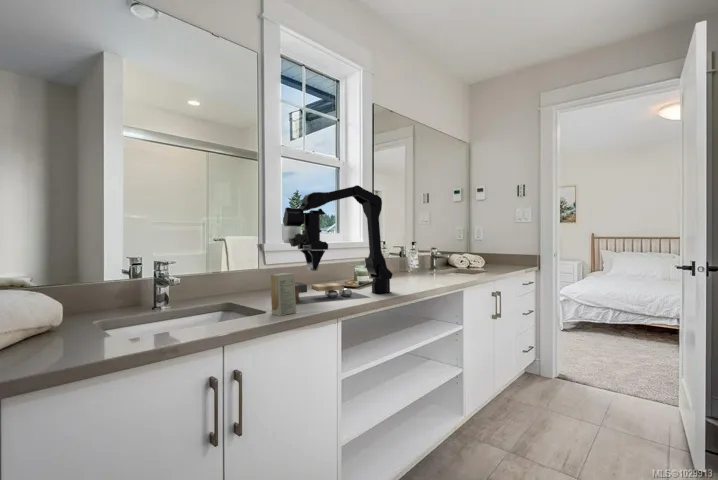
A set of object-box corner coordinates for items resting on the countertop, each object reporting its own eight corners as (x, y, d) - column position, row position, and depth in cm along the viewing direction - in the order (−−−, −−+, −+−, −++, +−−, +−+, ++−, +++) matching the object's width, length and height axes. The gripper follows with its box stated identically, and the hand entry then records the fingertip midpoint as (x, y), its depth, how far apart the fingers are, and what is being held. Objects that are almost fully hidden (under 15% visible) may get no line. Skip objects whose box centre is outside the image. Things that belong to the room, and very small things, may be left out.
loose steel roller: (313, 270, 142) (313, 262, 142) (318, 271, 136) (318, 262, 137) (305, 270, 141) (306, 262, 141) (310, 271, 135) (311, 262, 135)
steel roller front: (323, 291, 144) (327, 297, 144) (329, 293, 138) (332, 300, 139) (330, 287, 145) (333, 293, 145) (335, 288, 139) (339, 295, 140)
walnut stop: (299, 299, 142) (299, 282, 142) (307, 302, 133) (306, 284, 133) (283, 300, 139) (283, 283, 139) (290, 304, 130) (290, 286, 130)
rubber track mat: (354, 293, 154) (354, 292, 154) (371, 298, 140) (371, 297, 140) (282, 299, 142) (282, 298, 142) (292, 305, 127) (292, 304, 127)
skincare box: (288, 311, 118) (287, 272, 118) (296, 313, 115) (295, 273, 115) (270, 314, 113) (269, 274, 113) (278, 316, 110) (277, 274, 110)
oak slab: (336, 287, 147) (336, 283, 147) (343, 289, 140) (343, 285, 140) (311, 288, 143) (311, 284, 143) (318, 291, 135) (318, 287, 135)
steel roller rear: (338, 287, 146) (338, 295, 146) (344, 289, 141) (344, 297, 141) (345, 287, 147) (345, 295, 147) (351, 289, 142) (352, 297, 142)
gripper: (284, 227, 144) (284, 268, 144) (297, 225, 127) (297, 271, 127) (312, 228, 148) (312, 267, 148) (328, 226, 132) (328, 270, 131)
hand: (312, 269), depth 139 cm, fingers closed on loose steel roller, 6 cm apart
